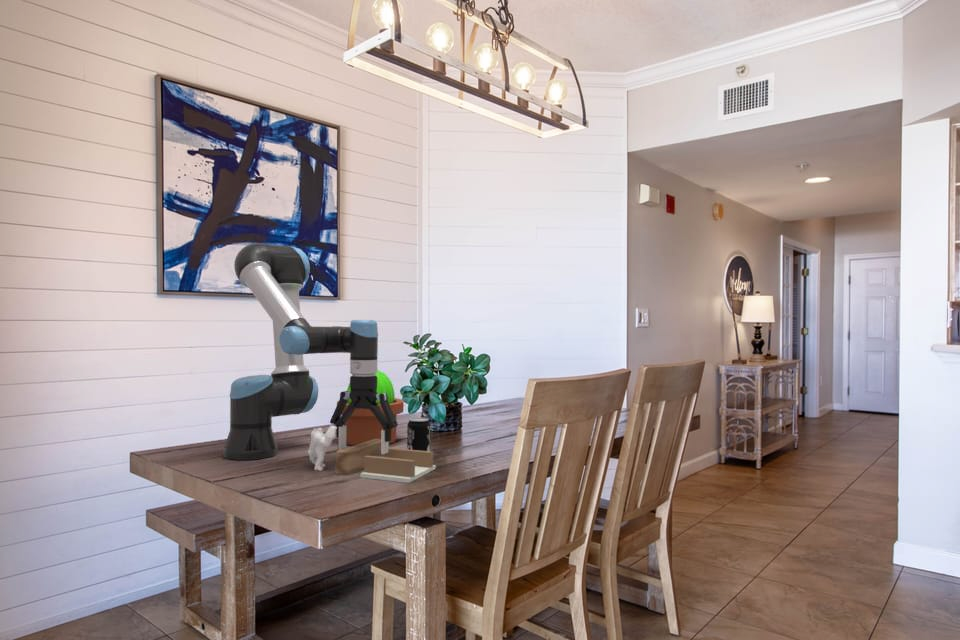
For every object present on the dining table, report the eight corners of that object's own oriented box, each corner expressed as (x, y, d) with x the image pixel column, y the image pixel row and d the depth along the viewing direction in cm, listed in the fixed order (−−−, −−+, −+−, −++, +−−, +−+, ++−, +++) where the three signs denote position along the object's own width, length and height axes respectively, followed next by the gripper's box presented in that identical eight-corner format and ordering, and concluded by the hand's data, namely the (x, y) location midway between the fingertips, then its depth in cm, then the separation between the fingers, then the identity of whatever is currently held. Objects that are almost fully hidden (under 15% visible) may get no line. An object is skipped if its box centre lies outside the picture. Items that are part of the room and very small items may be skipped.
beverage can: (426, 463, 173) (426, 421, 173) (403, 462, 175) (404, 420, 175) (432, 458, 180) (432, 417, 180) (411, 457, 181) (411, 416, 181)
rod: (335, 474, 161) (335, 451, 161) (375, 458, 180) (375, 438, 180) (348, 475, 159) (348, 453, 159) (387, 460, 178) (387, 439, 178)
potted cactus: (399, 448, 193) (400, 369, 194) (329, 447, 193) (330, 369, 193) (406, 435, 215) (407, 365, 216) (344, 435, 215) (344, 364, 215)
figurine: (339, 469, 165) (339, 425, 165) (323, 473, 161) (324, 427, 161) (315, 463, 172) (316, 421, 172) (300, 466, 168) (301, 423, 168)
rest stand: (360, 477, 157) (360, 458, 157) (390, 464, 172) (390, 446, 172) (408, 482, 152) (408, 462, 152) (435, 468, 167) (435, 450, 167)
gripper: (318, 374, 170) (317, 450, 170) (397, 377, 162) (396, 457, 162) (333, 372, 177) (332, 445, 177) (410, 375, 169) (409, 452, 169)
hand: (363, 451), depth 169 cm, fingers open, 13 cm apart
